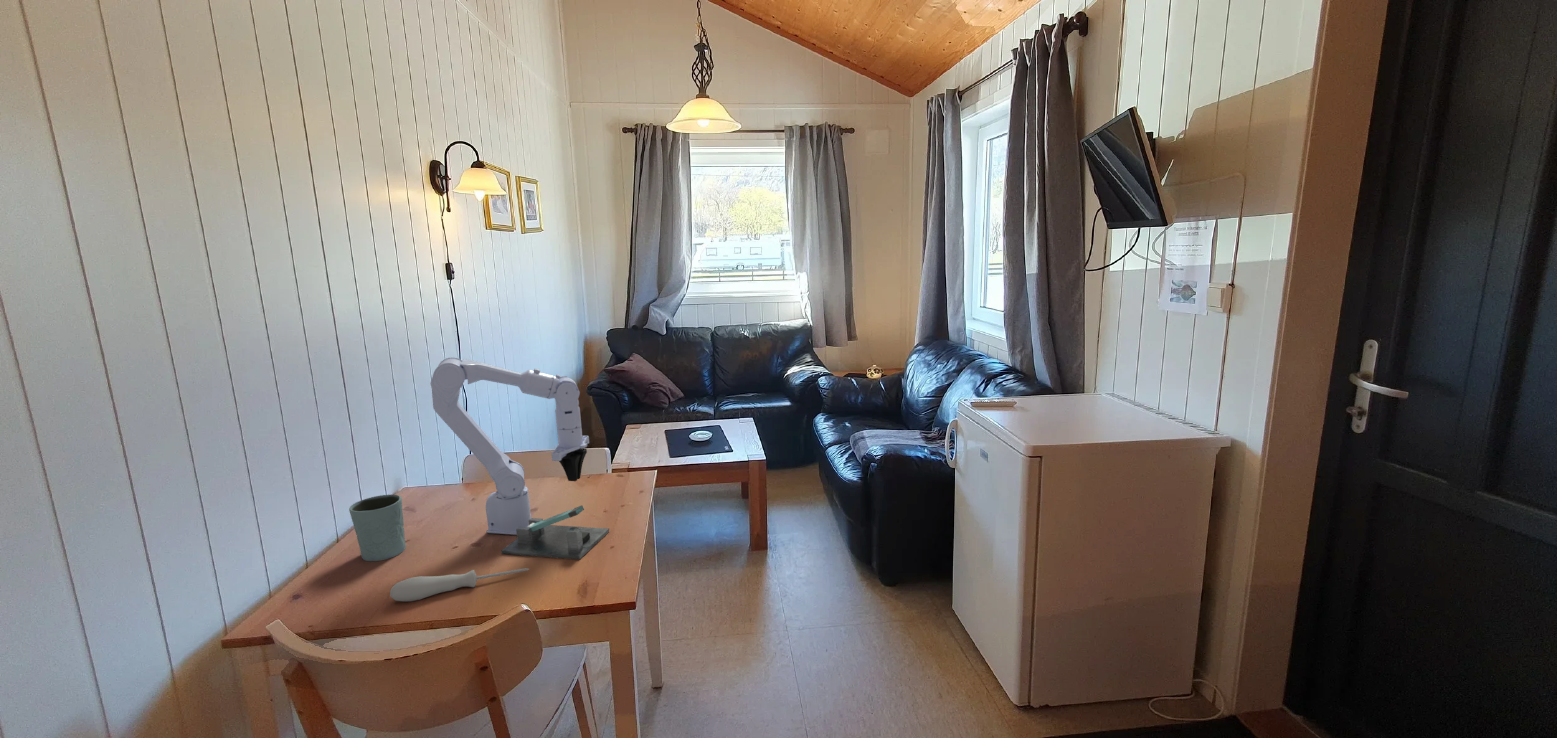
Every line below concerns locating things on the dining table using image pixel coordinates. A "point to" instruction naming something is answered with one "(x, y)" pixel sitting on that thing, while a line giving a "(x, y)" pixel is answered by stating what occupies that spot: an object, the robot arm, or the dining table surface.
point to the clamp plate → (555, 541)
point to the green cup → (379, 526)
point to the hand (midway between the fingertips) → (574, 479)
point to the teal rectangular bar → (556, 518)
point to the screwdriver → (436, 584)
